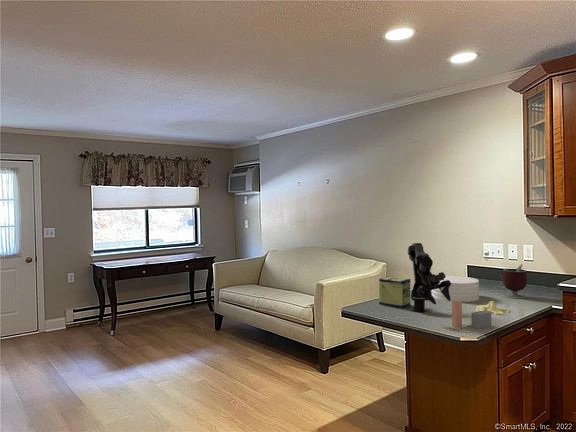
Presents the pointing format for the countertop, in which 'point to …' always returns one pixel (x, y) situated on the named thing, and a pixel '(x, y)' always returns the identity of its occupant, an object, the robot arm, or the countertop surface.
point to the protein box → (394, 292)
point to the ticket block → (479, 320)
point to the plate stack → (459, 289)
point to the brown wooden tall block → (456, 313)
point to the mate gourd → (515, 281)
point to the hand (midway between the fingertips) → (442, 302)
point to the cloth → (492, 308)
